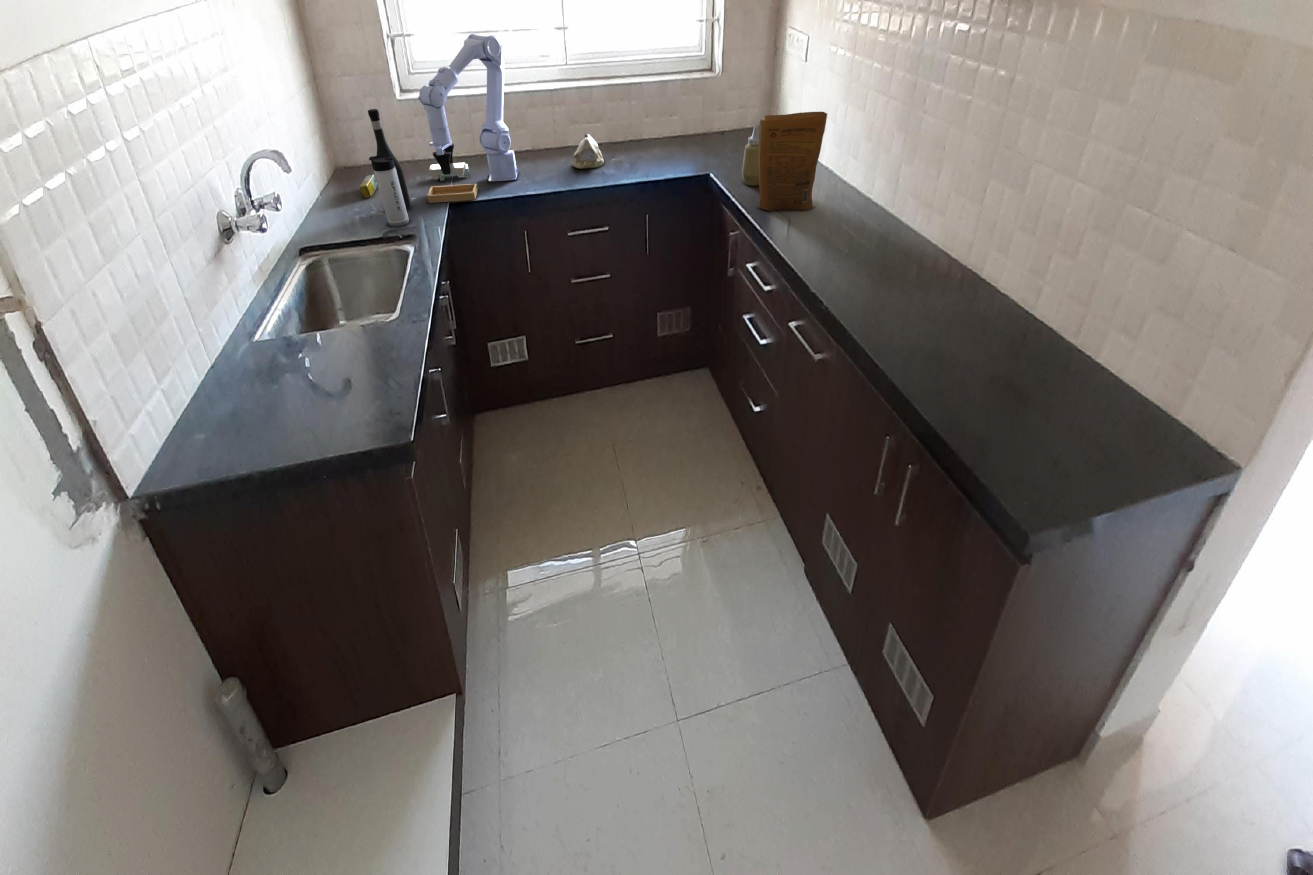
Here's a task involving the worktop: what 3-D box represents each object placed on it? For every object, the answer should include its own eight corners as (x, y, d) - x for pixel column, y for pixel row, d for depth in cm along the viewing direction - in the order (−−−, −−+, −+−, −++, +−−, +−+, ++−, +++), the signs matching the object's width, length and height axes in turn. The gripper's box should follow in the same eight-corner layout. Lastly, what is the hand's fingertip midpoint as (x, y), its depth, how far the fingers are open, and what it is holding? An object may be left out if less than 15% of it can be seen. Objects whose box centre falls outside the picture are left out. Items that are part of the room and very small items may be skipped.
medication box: (370, 186, 248) (366, 175, 245) (378, 185, 248) (374, 174, 245) (363, 198, 238) (358, 186, 236) (371, 196, 238) (367, 185, 236)
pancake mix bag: (818, 212, 215) (829, 114, 197) (754, 213, 216) (759, 115, 199) (816, 204, 220) (826, 107, 202) (754, 205, 221) (758, 108, 204)
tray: (477, 190, 241) (476, 183, 239) (475, 199, 234) (473, 192, 232) (432, 193, 240) (430, 186, 239) (428, 203, 233) (426, 196, 232)
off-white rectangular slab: (466, 172, 235) (464, 162, 233) (465, 177, 231) (463, 167, 229) (433, 174, 235) (431, 164, 233) (430, 179, 231) (428, 169, 229)
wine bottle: (388, 215, 226) (361, 115, 207) (384, 207, 231) (356, 109, 212) (414, 210, 228) (389, 110, 210) (408, 202, 234) (383, 105, 215)
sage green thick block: (469, 173, 255) (467, 164, 253) (470, 177, 251) (468, 168, 249) (437, 176, 253) (435, 167, 251) (438, 181, 249) (436, 172, 247)
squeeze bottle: (768, 180, 238) (772, 123, 227) (761, 188, 232) (764, 130, 221) (745, 178, 241) (748, 121, 230) (737, 185, 235) (739, 128, 224)
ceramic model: (602, 168, 254) (600, 139, 247) (571, 169, 254) (568, 140, 248) (605, 156, 265) (603, 127, 258) (575, 157, 265) (572, 128, 259)
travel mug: (389, 219, 223) (371, 154, 210) (411, 218, 223) (394, 152, 211) (385, 227, 218) (366, 160, 205) (407, 226, 218) (389, 159, 206)
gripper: (429, 122, 229) (439, 165, 238) (422, 135, 218) (432, 179, 226) (451, 120, 230) (460, 163, 238) (445, 133, 218) (454, 178, 227)
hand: (448, 171), depth 232 cm, fingers closed on off-white rectangular slab, 5 cm apart
